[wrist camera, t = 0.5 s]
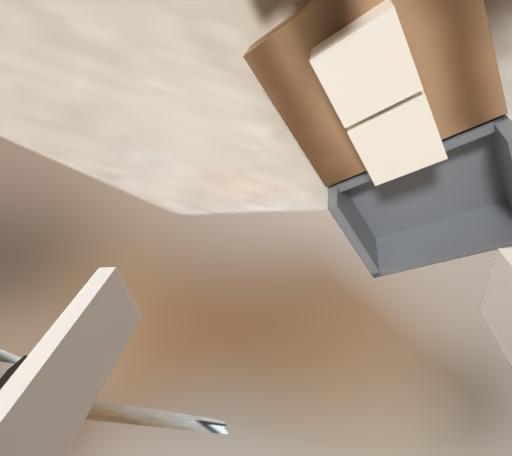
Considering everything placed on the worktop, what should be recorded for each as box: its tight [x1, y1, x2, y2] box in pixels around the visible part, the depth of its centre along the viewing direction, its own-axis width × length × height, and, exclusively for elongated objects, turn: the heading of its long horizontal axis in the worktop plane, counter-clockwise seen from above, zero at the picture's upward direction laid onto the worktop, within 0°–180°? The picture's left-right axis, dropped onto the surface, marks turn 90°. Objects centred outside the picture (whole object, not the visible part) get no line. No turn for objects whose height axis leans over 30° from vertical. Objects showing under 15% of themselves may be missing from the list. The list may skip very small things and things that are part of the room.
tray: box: [328, 114, 512, 278], centre depth 33 cm, size 16×12×6 cm
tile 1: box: [347, 90, 448, 186], centre depth 27 cm, size 6×6×3 cm
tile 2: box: [309, 0, 424, 128], centre depth 24 cm, size 6×6×3 cm
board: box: [243, 0, 507, 187], centre depth 27 cm, size 16×15×3 cm
